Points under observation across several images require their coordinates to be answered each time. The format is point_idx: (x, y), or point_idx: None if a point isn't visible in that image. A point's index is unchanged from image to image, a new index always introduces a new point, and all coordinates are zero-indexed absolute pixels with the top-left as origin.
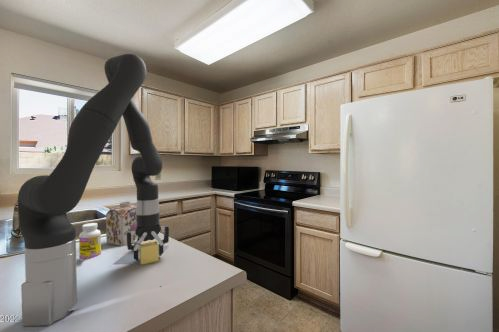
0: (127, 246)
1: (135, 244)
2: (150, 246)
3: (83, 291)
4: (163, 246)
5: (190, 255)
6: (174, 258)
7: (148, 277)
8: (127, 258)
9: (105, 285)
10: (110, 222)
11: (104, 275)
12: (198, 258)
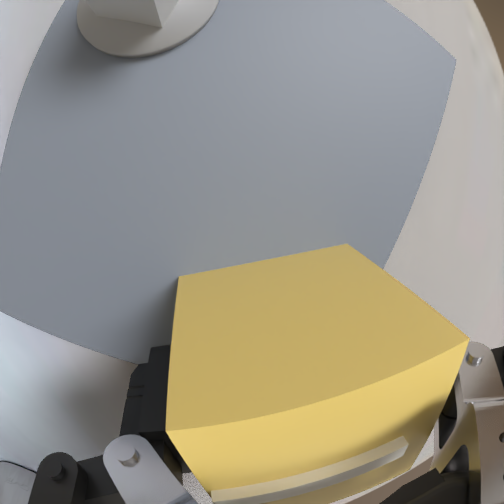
0: (49, 480)
1: (139, 497)
2: (334, 496)
3: (32, 451)
4: (417, 36)
5: (496, 269)
6: (436, 285)
7: None
8: (54, 224)
9: (85, 455)
10: None
11: (19, 379)
12: (495, 318)
